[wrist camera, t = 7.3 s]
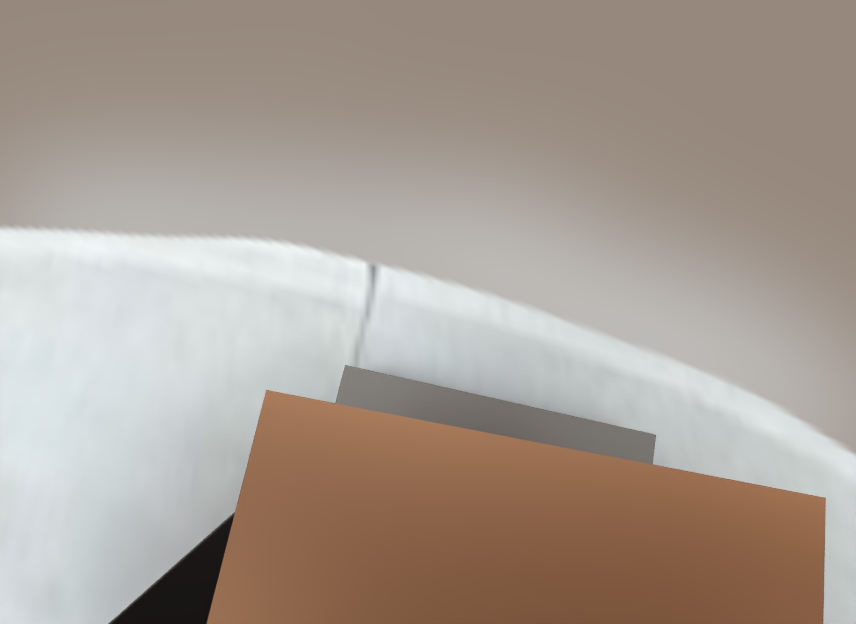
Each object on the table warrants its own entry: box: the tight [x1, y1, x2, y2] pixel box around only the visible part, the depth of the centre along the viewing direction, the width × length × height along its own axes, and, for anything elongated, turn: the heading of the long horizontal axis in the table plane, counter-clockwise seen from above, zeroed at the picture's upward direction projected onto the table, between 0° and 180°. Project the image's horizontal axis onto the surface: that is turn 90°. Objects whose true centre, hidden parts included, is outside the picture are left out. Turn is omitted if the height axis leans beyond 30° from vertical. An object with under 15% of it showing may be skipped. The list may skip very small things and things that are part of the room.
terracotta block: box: [207, 390, 826, 624], centre depth 10 cm, size 5×5×10 cm
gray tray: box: [336, 365, 656, 464], centre depth 18 cm, size 9×9×4 cm
